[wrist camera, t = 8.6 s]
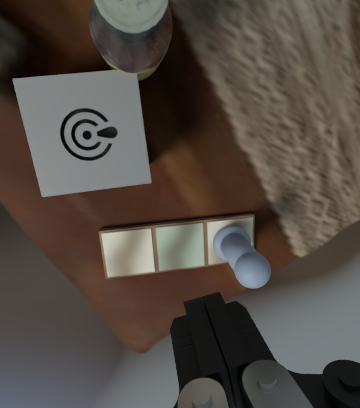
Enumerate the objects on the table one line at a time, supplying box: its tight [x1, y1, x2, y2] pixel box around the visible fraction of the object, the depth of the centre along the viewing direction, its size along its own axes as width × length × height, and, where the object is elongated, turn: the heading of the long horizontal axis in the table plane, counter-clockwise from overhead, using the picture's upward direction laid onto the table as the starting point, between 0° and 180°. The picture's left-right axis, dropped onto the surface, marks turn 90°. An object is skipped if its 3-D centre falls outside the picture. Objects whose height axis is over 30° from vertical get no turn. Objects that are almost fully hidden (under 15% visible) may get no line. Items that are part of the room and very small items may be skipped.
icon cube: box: [13, 70, 151, 197], centre depth 31 cm, size 10×10×10 cm
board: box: [99, 213, 255, 279], centre depth 41 cm, size 21×7×1 cm, turn 93°
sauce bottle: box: [89, 0, 173, 81], centre depth 24 cm, size 6×6×20 cm
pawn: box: [213, 225, 271, 288], centre depth 36 cm, size 5×5×10 cm
